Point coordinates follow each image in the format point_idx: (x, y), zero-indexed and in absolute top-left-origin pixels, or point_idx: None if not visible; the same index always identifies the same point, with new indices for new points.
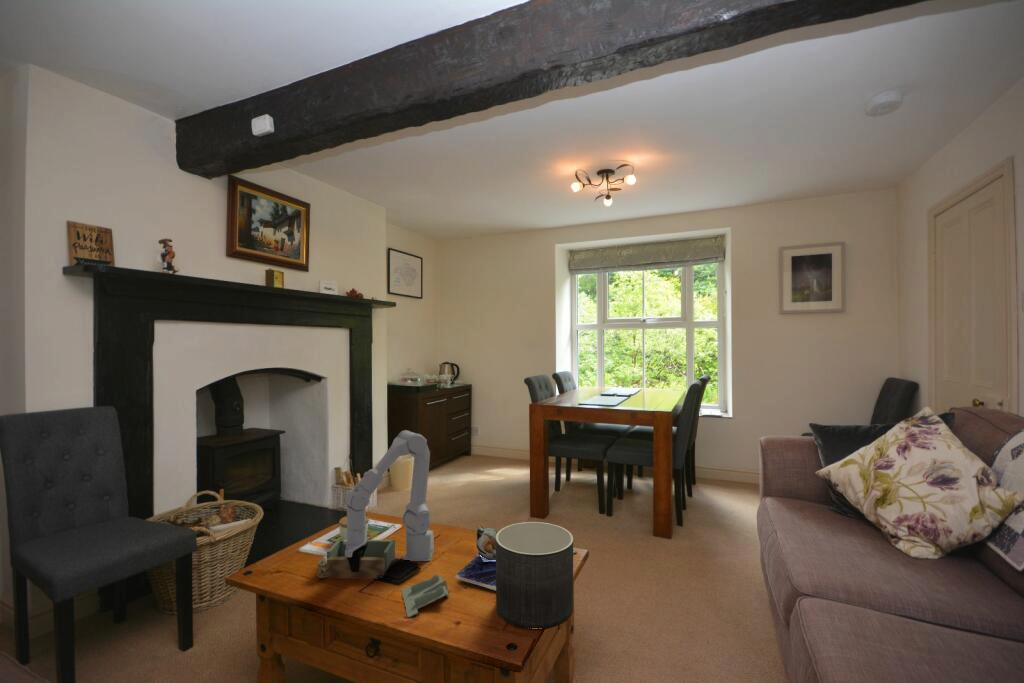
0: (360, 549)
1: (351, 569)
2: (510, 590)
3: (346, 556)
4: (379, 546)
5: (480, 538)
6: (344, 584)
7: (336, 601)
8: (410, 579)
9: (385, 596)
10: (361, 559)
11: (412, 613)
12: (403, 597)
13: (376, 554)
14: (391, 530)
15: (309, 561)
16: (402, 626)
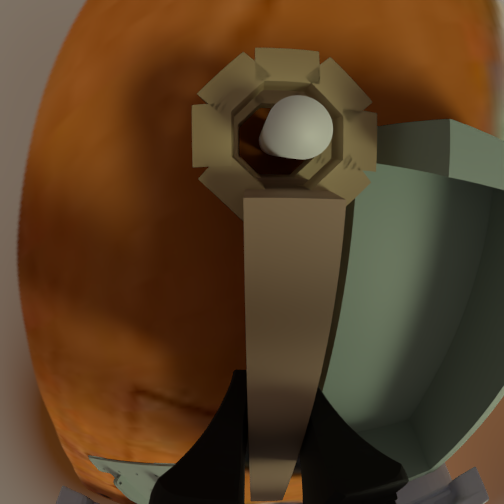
0: (308, 502)
1: (230, 384)
2: None
3: (67, 494)
4: (448, 422)
5: None
6: (171, 320)
7: (47, 323)
8: (247, 473)
9: (137, 442)
10: (258, 464)
11: (96, 465)
12: (145, 465)
13: (438, 384)
14: None
15: (444, 10)
16: (65, 445)
